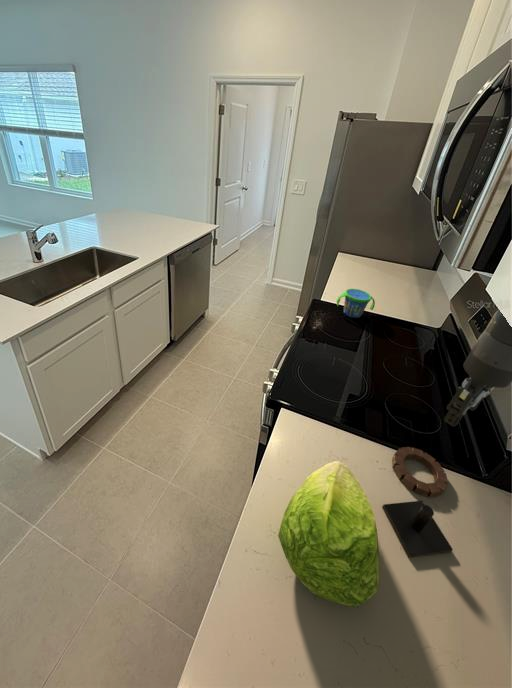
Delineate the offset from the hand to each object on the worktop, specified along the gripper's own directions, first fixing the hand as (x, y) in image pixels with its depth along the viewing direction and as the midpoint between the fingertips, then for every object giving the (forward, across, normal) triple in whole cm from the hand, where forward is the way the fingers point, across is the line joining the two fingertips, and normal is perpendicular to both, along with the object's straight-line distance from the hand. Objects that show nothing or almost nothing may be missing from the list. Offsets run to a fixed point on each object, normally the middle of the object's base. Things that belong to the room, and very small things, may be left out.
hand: (459, 415), depth 66 cm
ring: (+18, -4, 0) cm, 19 cm away
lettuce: (+18, -33, +2) cm, 38 cm away
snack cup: (+18, +44, +56) cm, 73 cm away
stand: (+18, -16, -6) cm, 25 cm away
